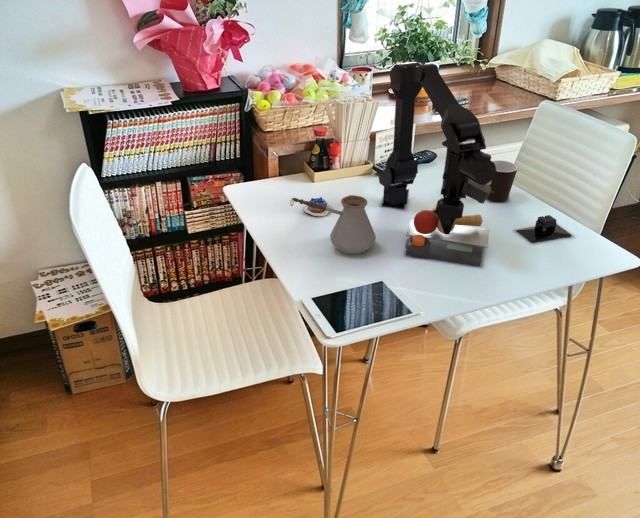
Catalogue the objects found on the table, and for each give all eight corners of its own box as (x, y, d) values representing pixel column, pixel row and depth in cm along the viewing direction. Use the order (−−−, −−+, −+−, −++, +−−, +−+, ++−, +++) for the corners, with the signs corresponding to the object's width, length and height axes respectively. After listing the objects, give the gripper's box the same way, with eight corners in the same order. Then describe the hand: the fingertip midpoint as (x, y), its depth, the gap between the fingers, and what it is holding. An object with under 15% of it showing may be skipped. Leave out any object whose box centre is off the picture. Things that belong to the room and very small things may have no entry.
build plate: (554, 224, 161) (558, 209, 159) (572, 237, 155) (576, 221, 153) (515, 231, 158) (519, 215, 155) (532, 244, 152) (536, 228, 149)
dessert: (326, 216, 162) (314, 198, 161) (307, 225, 166) (296, 207, 165) (336, 206, 169) (325, 188, 168) (318, 215, 172) (307, 198, 171)
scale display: (446, 249, 144) (446, 248, 143) (447, 244, 145) (447, 243, 145) (471, 252, 142) (471, 252, 142) (472, 248, 144) (472, 247, 144)
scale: (403, 257, 146) (404, 246, 144) (412, 229, 158) (413, 219, 157) (479, 269, 142) (481, 258, 140) (483, 239, 154) (485, 229, 152)
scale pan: (405, 235, 149) (405, 234, 149) (411, 219, 156) (411, 218, 156) (487, 247, 144) (487, 246, 144) (489, 230, 152) (489, 229, 151)
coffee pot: (368, 233, 156) (371, 181, 148) (380, 256, 146) (384, 201, 138) (288, 241, 152) (286, 187, 144) (295, 264, 143) (293, 209, 135)
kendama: (467, 221, 157) (406, 221, 151) (476, 202, 152) (413, 201, 147) (480, 240, 151) (416, 241, 146) (489, 221, 147) (424, 221, 142)
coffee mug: (512, 205, 171) (518, 173, 165) (481, 202, 172) (487, 170, 167) (509, 188, 180) (515, 157, 175) (480, 186, 182) (485, 155, 176)
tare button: (411, 245, 145) (411, 239, 145) (413, 240, 148) (413, 233, 147) (423, 247, 145) (424, 241, 144) (425, 241, 147) (425, 235, 146)
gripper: (489, 189, 131) (478, 249, 140) (493, 158, 147) (483, 214, 155) (438, 182, 134) (431, 242, 142) (447, 152, 149) (440, 208, 158)
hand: (448, 226), depth 149 cm, fingers closed on kendama, 8 cm apart
